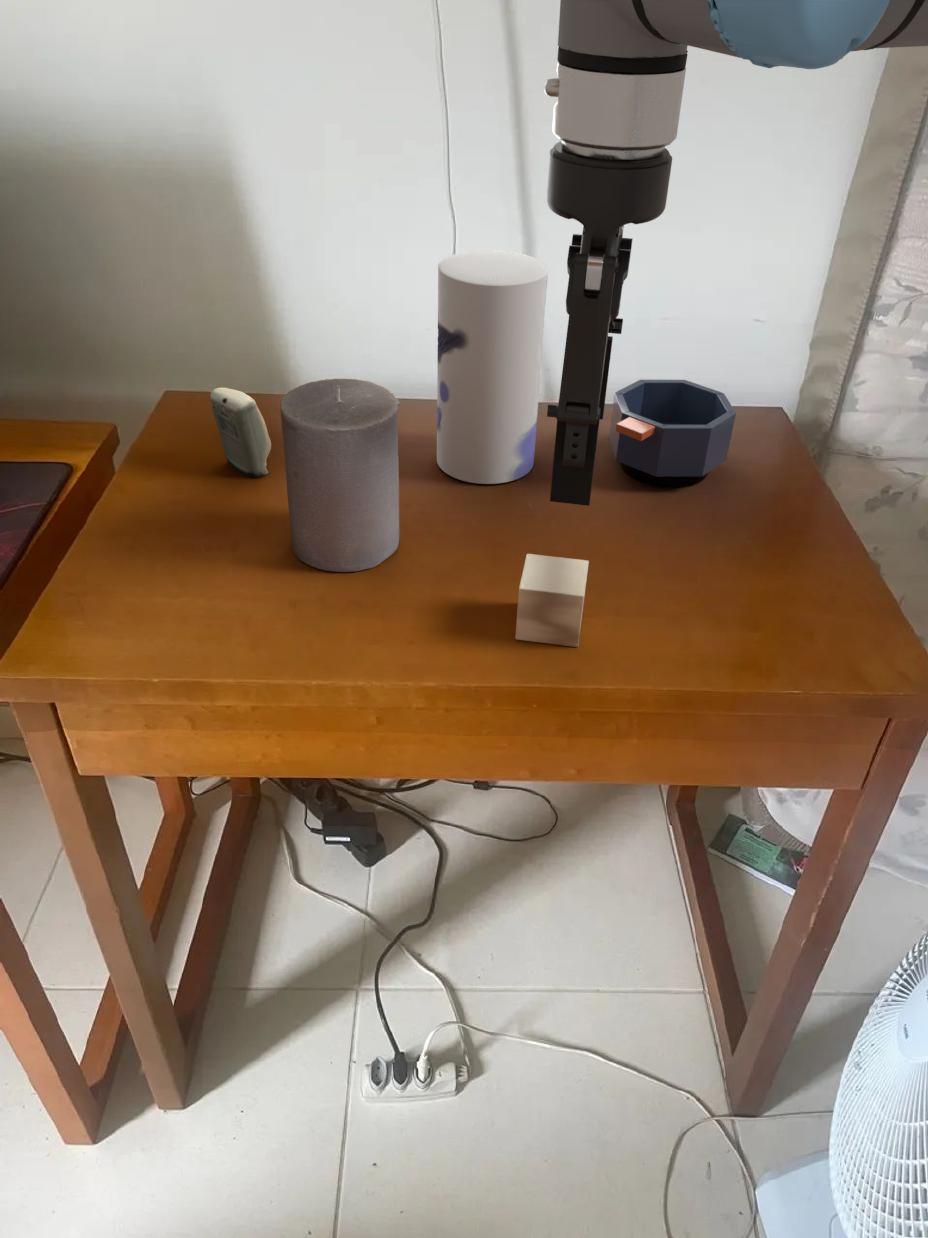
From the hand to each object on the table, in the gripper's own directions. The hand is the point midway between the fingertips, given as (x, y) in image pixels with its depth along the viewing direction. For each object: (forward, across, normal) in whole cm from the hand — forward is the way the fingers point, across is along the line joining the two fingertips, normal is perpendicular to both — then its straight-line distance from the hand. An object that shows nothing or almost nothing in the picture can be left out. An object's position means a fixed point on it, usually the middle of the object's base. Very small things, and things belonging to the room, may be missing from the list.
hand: (578, 455), depth 73 cm
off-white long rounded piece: (+14, -17, -34) cm, 41 cm away
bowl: (+12, -26, +7) cm, 29 cm away
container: (+14, -24, -10) cm, 29 cm away
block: (+14, +3, -1) cm, 14 cm away
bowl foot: (+14, -27, +8) cm, 31 cm away
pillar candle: (+14, -6, -20) cm, 25 cm away
